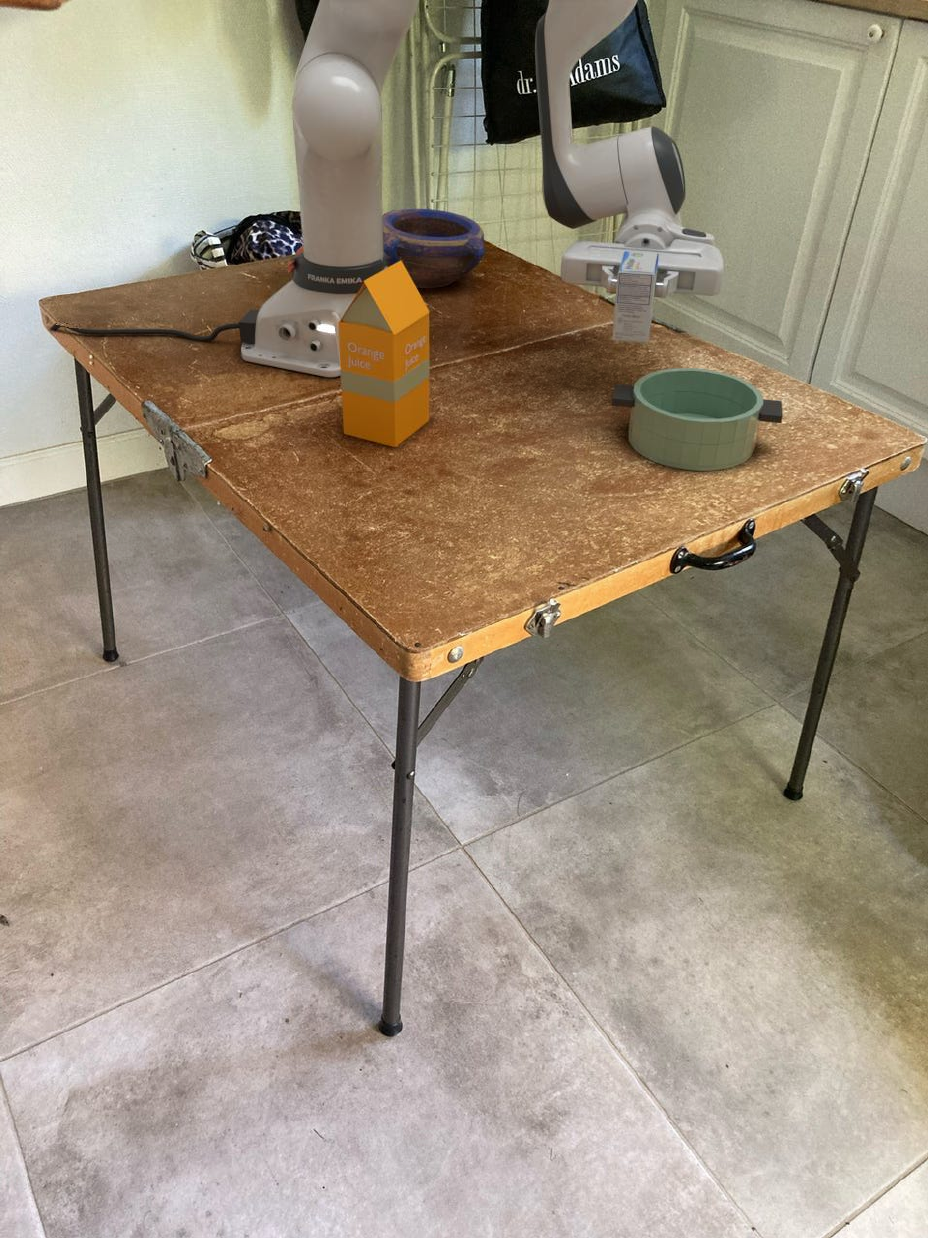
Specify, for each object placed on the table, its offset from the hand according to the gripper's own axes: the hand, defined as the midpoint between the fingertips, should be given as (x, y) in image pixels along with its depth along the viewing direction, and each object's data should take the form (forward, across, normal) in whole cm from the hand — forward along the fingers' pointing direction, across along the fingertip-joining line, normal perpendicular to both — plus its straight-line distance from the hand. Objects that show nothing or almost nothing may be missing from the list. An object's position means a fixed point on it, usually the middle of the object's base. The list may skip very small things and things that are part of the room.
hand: (636, 289), depth 129 cm
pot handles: (+5, +9, +12) cm, 16 cm away
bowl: (-46, -37, +17) cm, 61 cm away
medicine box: (+1, 0, +5) cm, 5 cm away
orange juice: (+10, -29, +17) cm, 35 cm away
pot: (+5, +9, +17) cm, 20 cm away
